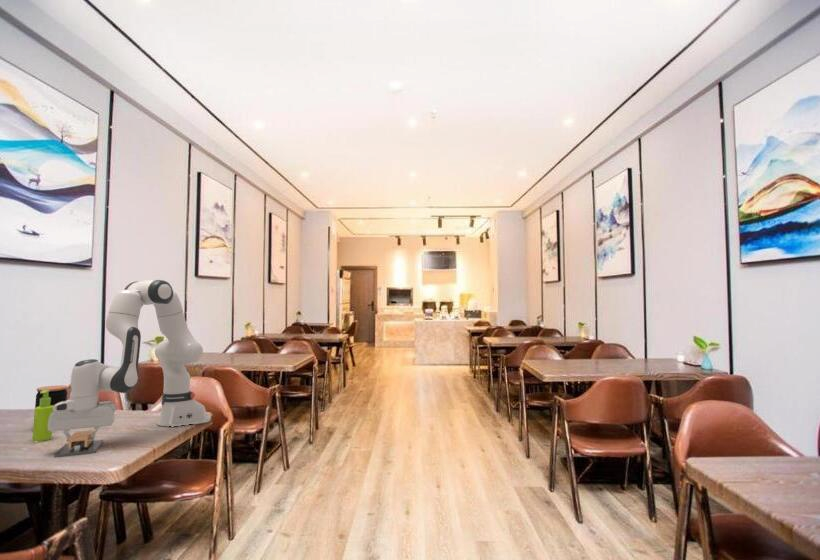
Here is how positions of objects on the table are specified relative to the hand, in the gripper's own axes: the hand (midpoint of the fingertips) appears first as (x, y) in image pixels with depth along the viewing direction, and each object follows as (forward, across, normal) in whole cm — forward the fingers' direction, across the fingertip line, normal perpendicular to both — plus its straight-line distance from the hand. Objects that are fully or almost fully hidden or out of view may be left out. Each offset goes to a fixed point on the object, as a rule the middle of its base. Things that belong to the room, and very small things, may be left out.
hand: (81, 439), depth 159 cm
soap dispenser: (+4, +17, -21) cm, 27 cm away
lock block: (+2, 0, 0) cm, 2 cm away
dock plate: (+4, 0, 0) cm, 4 cm away
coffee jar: (+4, +20, -42) cm, 47 cm away
